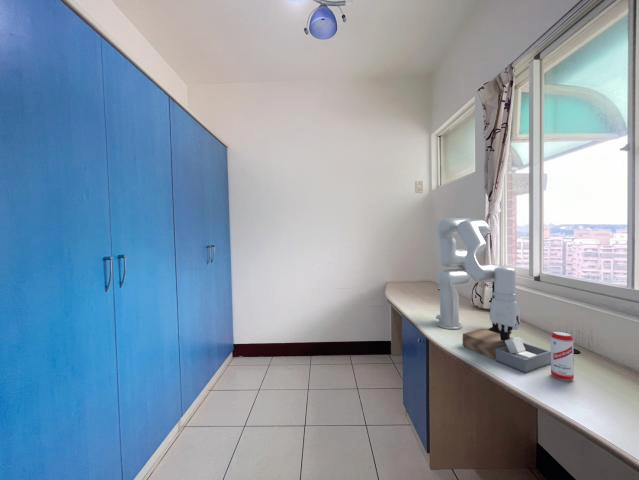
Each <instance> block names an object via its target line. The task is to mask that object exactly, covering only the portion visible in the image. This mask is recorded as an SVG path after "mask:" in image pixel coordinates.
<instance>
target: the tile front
mask: <svg viewBox="0 0 639 480" xmlns="http://www.w3.org/2000/svg"><path fill="white" fill-rule="evenodd" d="M535 355H536V354H533V353H530V352H527V351H521V352H518V353H516V356H518V357H521V358H523V359H527V358H530V357H533V356H535Z"/></svg>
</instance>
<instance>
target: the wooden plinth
mask: <svg viewBox="0 0 639 480" xmlns="http://www.w3.org/2000/svg"><path fill="white" fill-rule="evenodd" d="M512 338H513V337H511V336H510V339H512ZM463 346H464V347H463ZM505 346H507V345H506V343H505V341H503V340H501V337H500V334H499V333H495V332H492V331H489V329H485V328H480V329H476V330H473V331H467V332H463V333H462V347H463V348H465V347H466V349H468V350H470V349H471V350H470V351H473V350H474V351H473V352H475V351H476V352H475V353H479V354H481V355H482V356H485V357H488V358H490V359H493V360H495V361H496V349H498V348H501V347H505Z"/></svg>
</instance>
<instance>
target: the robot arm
mask: <svg viewBox="0 0 639 480" xmlns="http://www.w3.org/2000/svg"><path fill="white" fill-rule="evenodd" d="M489 231H490V227H489V225H488V223H487V222H486V221H485V220H482V219H477V218H471V217H459V218H458V217H449V218H443V219H441V220H440V221H439V222H438V224H437V226H436V233H437V237H438V243H439V262H440V264H441V266H443V267H446V269H442V270H440V271H439V272H438V273H437V282H438V287H439V314H437V315H436V316H435V319H437V320H438V321H437V324H436V325H437V326H438V327H440V328H443V329H446V330H459V329H462V328H463V324H462V323H461V322H460V311H459V310H460V307H459V305H460V304H459V302H460V301H459V299H460V297H459V293H458V291H457V290H456V289H457V288H455V287H463V286H468V285H470V283H471V281H472V280H473V281H474V282H476V283H492V282H494V292H492V291H491V295H492V296H493V295H494V298H493V299H492V298H491V303H490V309H489V320H490V321H491V324H492V323H494V324H496V325H497V326H498V328H499V330H500V337H501V340H503V341H505V340H509V339H510V337H511V334H510V331H511V332H512V331H513V330H514V331H517V330H519V329H520V327H519V325H520V321H521V318H520V317H521V316H520V307H519V303H518V301H516V299H517V296H516V295H517V293H516V292H517V291H516V288H517V287H516V286H517V285H516V284H517V282H516V280H517V279H516V275H517V274H516V270H515V268H513V267H507V266H503V265H500V264H479V262H478V260H477V257H476V255H478V254H479V253H481V252H483V251H484V250H485V249H486V248H487V242H486V240H485V239H484V237H486V236H487V235H488V234H489ZM453 235H459V236H460V238H461V240H462V242H463V244H464V246H465V248H466V249H462V248H461V249H460V248H459V249H457V241H456V239H455V237H454V236H453ZM449 267H453V268H449ZM455 267H457V268H455ZM448 268H449V269H448Z"/></svg>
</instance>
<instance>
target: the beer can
mask: <svg viewBox="0 0 639 480" xmlns="http://www.w3.org/2000/svg"><path fill="white" fill-rule="evenodd" d="M574 342H575V339H574V338H573V335H572V333H570V332H567V331H564V330H553V331H552V334H551V335H550V351H551V364H550V373H551V375H552V376H553V377H554V379H557V380H559V381H563V382H571V381H573V380H574V375H575V373H574V371H575V370H574V368H575V367H574V366H575V364H574V363H575V362H574V361H575V359H574V356H575V354H574V353H575V352H574V351H575V349H574V346H575V345H574Z"/></svg>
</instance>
